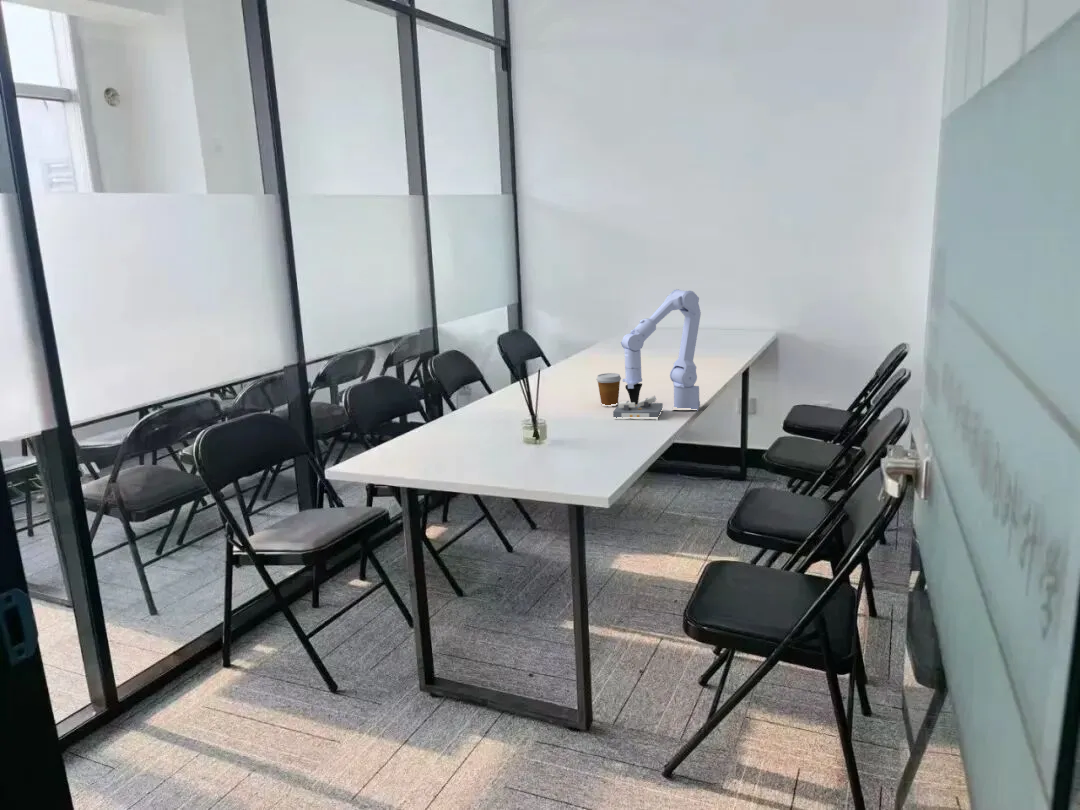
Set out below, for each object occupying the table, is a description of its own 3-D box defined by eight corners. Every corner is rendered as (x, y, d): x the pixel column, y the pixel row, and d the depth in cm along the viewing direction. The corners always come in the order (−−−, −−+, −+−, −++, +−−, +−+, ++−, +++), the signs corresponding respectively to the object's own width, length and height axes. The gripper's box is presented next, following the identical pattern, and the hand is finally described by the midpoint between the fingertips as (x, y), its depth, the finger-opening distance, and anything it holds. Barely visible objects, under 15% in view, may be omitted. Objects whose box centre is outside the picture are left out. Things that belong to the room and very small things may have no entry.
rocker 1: (636, 404, 287) (636, 400, 287) (634, 407, 284) (634, 402, 283) (620, 405, 289) (620, 400, 289) (618, 407, 285) (618, 403, 285)
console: (662, 410, 293) (662, 397, 292) (657, 420, 280) (657, 406, 279) (620, 410, 297) (619, 397, 296) (613, 419, 284) (612, 406, 283)
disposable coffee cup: (595, 408, 304) (593, 377, 301) (600, 402, 312) (599, 372, 310) (619, 408, 301) (618, 377, 298) (624, 402, 309) (623, 372, 307)
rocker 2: (656, 399, 290) (654, 395, 290) (654, 401, 286) (653, 397, 286) (641, 404, 292) (639, 400, 292) (639, 406, 288) (637, 402, 288)
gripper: (625, 363, 290) (626, 399, 293) (618, 371, 277) (620, 408, 280) (644, 363, 288) (645, 399, 292) (638, 370, 275) (640, 408, 278)
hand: (634, 404), depth 286 cm, fingers closed, pressing on rocker 1
